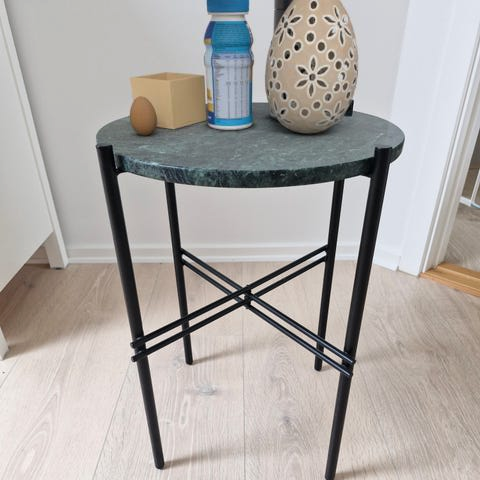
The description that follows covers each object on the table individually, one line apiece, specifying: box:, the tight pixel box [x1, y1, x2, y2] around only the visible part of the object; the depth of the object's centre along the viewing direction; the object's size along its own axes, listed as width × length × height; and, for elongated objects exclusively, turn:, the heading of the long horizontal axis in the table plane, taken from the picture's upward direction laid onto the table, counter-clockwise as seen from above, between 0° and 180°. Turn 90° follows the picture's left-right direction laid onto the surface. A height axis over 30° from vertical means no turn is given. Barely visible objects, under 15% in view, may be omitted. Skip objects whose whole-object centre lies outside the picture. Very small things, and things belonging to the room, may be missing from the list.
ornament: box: [264, 0, 359, 135], centre depth 71 cm, size 15×15×20 cm
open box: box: [129, 71, 207, 130], centre depth 83 cm, size 9×9×8 cm
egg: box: [129, 96, 157, 137], centre depth 74 cm, size 4×4×6 cm
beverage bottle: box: [203, 0, 255, 131], centre depth 76 cm, size 8×8×20 cm
